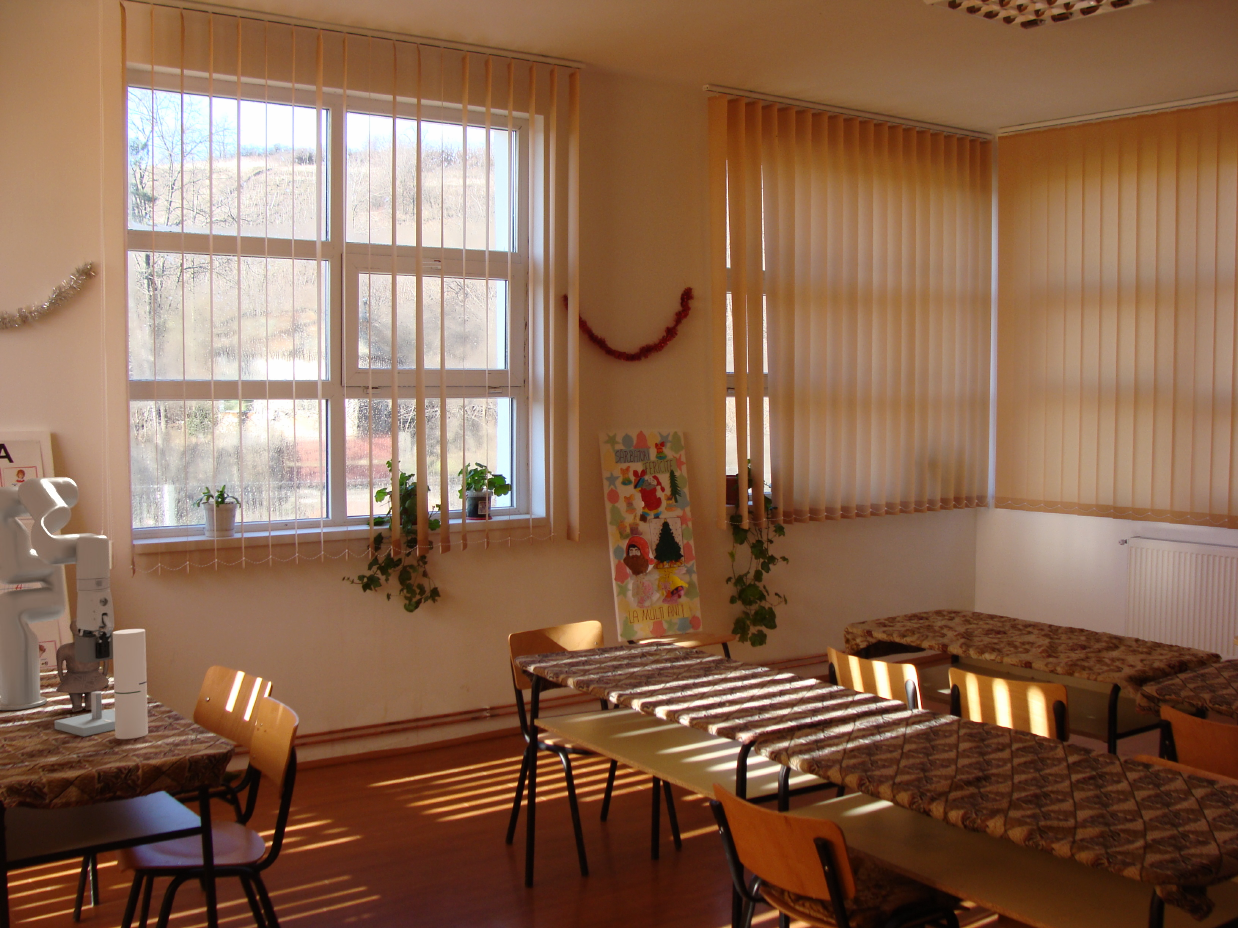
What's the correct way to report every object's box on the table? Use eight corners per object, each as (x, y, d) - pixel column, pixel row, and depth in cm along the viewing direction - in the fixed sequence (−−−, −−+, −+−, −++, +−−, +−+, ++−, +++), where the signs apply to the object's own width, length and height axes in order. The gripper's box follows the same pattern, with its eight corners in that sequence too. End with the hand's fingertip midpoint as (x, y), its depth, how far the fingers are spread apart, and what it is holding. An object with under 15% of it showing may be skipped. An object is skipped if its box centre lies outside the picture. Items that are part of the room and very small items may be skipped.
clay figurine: (55, 716, 279) (53, 620, 279) (57, 708, 288) (54, 615, 288) (110, 709, 284) (108, 616, 284) (110, 702, 293) (107, 611, 293)
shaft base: (54, 728, 265) (53, 694, 265) (109, 716, 276) (108, 684, 276) (83, 736, 257) (82, 701, 257) (139, 723, 268) (138, 689, 268)
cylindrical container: (154, 732, 259) (152, 629, 259) (132, 739, 253) (129, 634, 252) (131, 730, 262) (128, 628, 262) (108, 737, 255) (105, 633, 255)
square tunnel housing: (101, 656, 271) (100, 631, 271) (114, 658, 267) (114, 634, 267) (75, 660, 266) (74, 635, 266) (88, 662, 262) (88, 638, 262)
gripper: (126, 585, 264) (128, 657, 264) (90, 581, 275) (92, 650, 275) (96, 588, 258) (98, 662, 258) (60, 584, 268) (62, 655, 269)
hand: (95, 655), depth 267 cm, fingers closed on square tunnel housing, 6 cm apart
